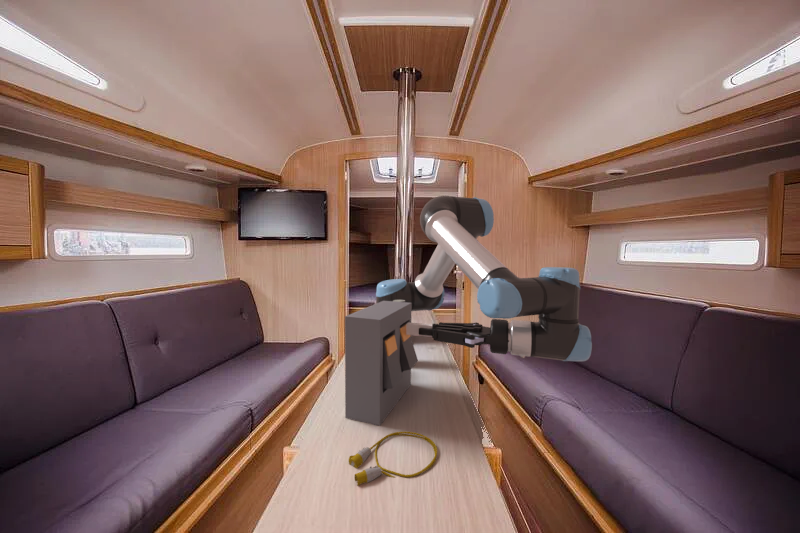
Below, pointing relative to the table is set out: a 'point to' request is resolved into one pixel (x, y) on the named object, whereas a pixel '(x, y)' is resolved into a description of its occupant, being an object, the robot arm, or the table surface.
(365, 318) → the block
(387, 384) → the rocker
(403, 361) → the panel
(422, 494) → the table surface
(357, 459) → the extension cord
